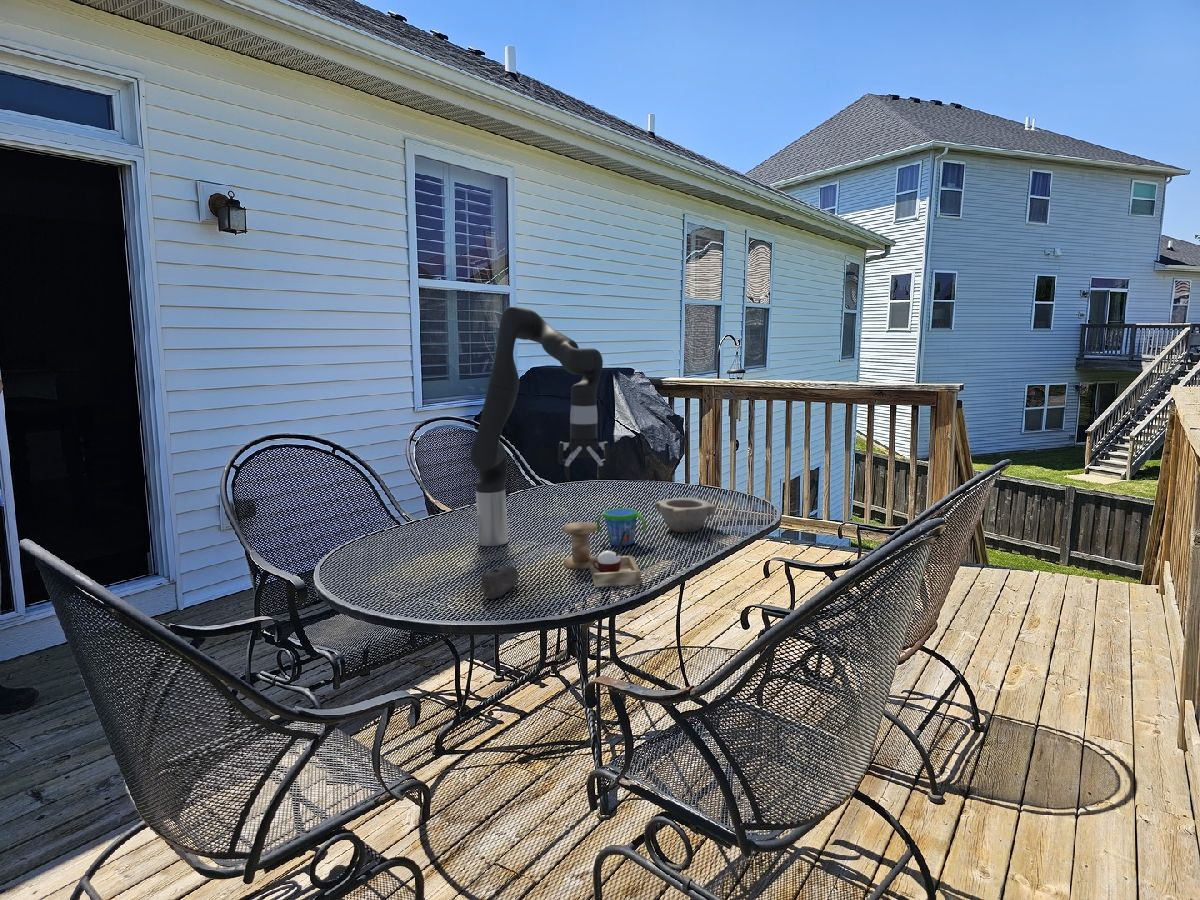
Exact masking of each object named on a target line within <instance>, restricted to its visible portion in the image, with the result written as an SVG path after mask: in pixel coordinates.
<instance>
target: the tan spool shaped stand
mask: <svg viewBox="0 0 1200 900" xmlns="http://www.w3.org/2000/svg"><path fill="white" fill-rule="evenodd" d="M561 527H562V528H561V531H562V533H564V534H566V535H570V536H571V556H569V557H566V558H565V559H563V566H564V567H565V568H567V569H572V570H587V569H589V570H590V558H598V556H593V555H591V553H590V534H592V533H595V532H596V531H597V523H594V522H590V521H578V522H577V521H575V522H569V523H565V524H564V525H562V526H561Z"/></svg>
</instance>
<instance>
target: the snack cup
mask: <svg viewBox="0 0 1200 900" xmlns="http://www.w3.org/2000/svg"><path fill="white" fill-rule="evenodd" d="M602 517H603V518H604V521H605V525H606V530H607V536H608V541H609V543H610V544H611V545H612V546H614V547H619V544H620V541H621V538H622V535H623V532H624V531H625V530H626V534H625V537H624V540H623V543H622V546H623V547H627V546H630V545H632V544H634V542H635V536H636V535H635V534H636V527H637V518H638V519H640V520H641V522H642V525H643V526H642V534H643V535H645V534H646V531H647V522H646V520H645V518H644V516H643V515H642V514H640V513H639V512H638V511H637V510H636V509H634V508H628V507H626V508H624V507H621V508H620V507H619V508H610V509H607V510H605V511H604V512H603V513H601V514H600V515H599V516H598V518H597V519H596V524H597V533H600V532H601V526H600V520H601V519H602ZM622 546H621V547H622Z"/></svg>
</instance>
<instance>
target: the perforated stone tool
mask: <svg viewBox="0 0 1200 900" xmlns="http://www.w3.org/2000/svg"><path fill="white" fill-rule="evenodd" d="M518 573H519V572H518V570H517V567H514V566H513V565H505V566H501V567H496V568H494V569H491V570H489V571H486V572H484V573H483V574H481V576H480V578H481V585H480V589H481V590H482V592H483V597H484V598H486V599H489V600H495V599H498V598H500V597H503V596H504V595H505V594H507V593H508V592H509V591H510V590H512V589H513V588H514V586H515V585H516V583H517V581H518V578H519V574H518Z"/></svg>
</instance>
